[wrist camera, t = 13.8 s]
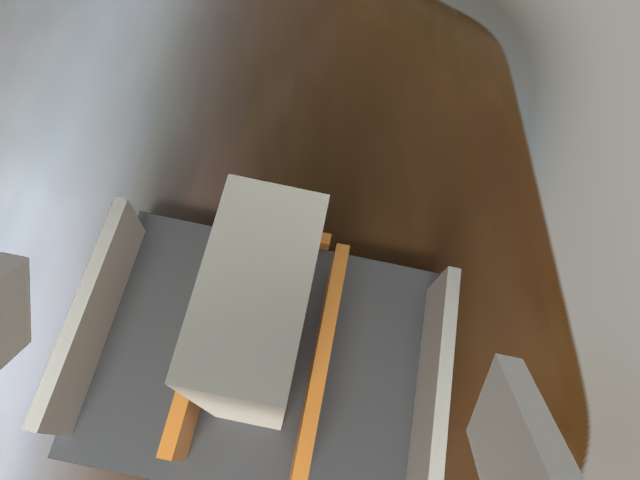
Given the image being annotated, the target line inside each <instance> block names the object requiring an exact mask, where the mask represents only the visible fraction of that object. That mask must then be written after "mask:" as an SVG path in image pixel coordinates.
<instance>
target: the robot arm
mask: <svg viewBox="0 0 640 480" xmlns="http://www.w3.org/2000/svg"><path fill="white" fill-rule="evenodd" d="M30 342H31V312H30V273H29V258H28V257H23V256H18V255H13V254H9V253H4V252H1V253H0V370H1V369H2V368H3V367H4V366H5V365H6V364H7V363H8V362H9V361H10V360H12V359H13V358H14V357H15V356H16V355H17V354H18V353H19V352H20V351H21V350H22V349H24V348H25V347H26V346H27V345H28V344H29V343H30ZM466 432H467V435H468V439H469V443H470V446H471V450H472V454H473V457H474V461H475V464H476V468H477V472H478V475H479V479H480V480H585V479H584V477H583V475H582V473H581V471H580V469H579V467H578V466H577V464H576V462H575V460H574V458H573V456H572V454H571V452H570V450H569V448H568V446H567V444H566V442H565V440H564V438H563V436H562V434H561V432H560V431H559V429H558V427H557V425H556V423H555V421H554V419H553V417H552V415H551V413H550V411H549V409H548V407H547V405H546V403H545V401H544V399H543V397H542V396H541V394H540V392H539V390H538V388H537V386H536V384H535V382H534V380H533V378H532V376H531V374H530V372H529V370H528V368H527V366H526V364H525V363H524V361H523V359H521V358H516V357H511V356H506V355H501V354H496V353H495V356H494V359H493V361H492V364H491V367H490V369H489V372H488V374H487V377H486V380H485V382H484V385H483V387H482V390H481V393H480V395H479V398H478V401H477V403H476V406H475V408H474V411H473V414H472V416H471V419H470V421H469V424H468V427H467V429H466Z"/></svg>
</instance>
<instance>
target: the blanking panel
mask: <svg viewBox="0 0 640 480" xmlns="http://www.w3.org/2000/svg"><path fill="white" fill-rule="evenodd" d="M329 198H330V195H328V194H324V193H319V192H314V191H309V190H304V189H300V188H295V187H290V186H285V185H280V184H276V183H271V182H266V181H261V180H256V179H252V178H247V177H242V176H237V175H232V174H228V177H227V180H226V183H225V187H224V190H223V193H222V197H221V200H220V203H219V206H218V210H217V213H216V216H215V219H214V223H213V226H212V229H211V233H210V236H209V239H208V242H207V246H206V249H205V252H204V256H203V259H202V262H201V265H200V269H199V272H198V275H197V278H196V282H195V285H194V288H193V292H192V295H191V298H190V301H189V305H188V308H187V311H186V315H185V318H184V321H183V324H182V328H181V331H180V334H179V338H178V341H177V344H176V347H175V351H174V354H173V357H172V360H171V364H170V367H169V370H168V374H167V377H166V380H165V383H164V384H166V385H167V386H169V387H170V388H172V389H173V390H175V391H176V392H178V393H179V394H181V395H182V396H184V397H186V398H187V399H189V400H190V401H192V402H193V403H195V404H196V405H198V406H199V407H201V408H202V409H204V410H205V411H207V412H208V413H210V414H212V415H213V416H215V417H218V418H223V419H228V420H232V421H237V422H242V423H247V424H252V425H256V426H261V427H266V428H271V429H276V430H281V427H282V423H283V419H284V415H285V410H286V406H287V401H288V396H289V391H290V387H291V382H292V377H293V372H294V367H295V362H296V358H297V353H298V348H299V343H300V338H301V333H302V329H303V324H304V319H305V314H306V309H307V304H308V300H309V295H310V290H311V285H312V280H313V276H314V271H315V266H316V261H317V256H318V251H319V247H320V242H321V237H322V232H323V227H324V222H325V218H326V213H327V208H328V203H329Z"/></svg>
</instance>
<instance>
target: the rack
mask: <svg viewBox="0 0 640 480" xmlns="http://www.w3.org/2000/svg"><path fill="white" fill-rule="evenodd" d="M211 229H212V226H208V225H204V224H199V223H194V222H189V221H184V220H180V219H175V218H170V217H165V216H160V215H156V214H151V213H146V212H141V211H140V212H139V215H138V216H137V215H136V213H135V211H134V209H133V208H132V206H131V204H130V202H129V201H128V199H124V198H119V197H114V199H113V202H112V204H111V207H110V209H109V212H108V214H107V217H106V219H105V222H104V224H103V227H102V229H101V232H100V234H99V237H98V239H97V242H96V244H95V247H94V249H93V252H92V254H91V257H90V259H89V261H88V264H87V266H86V269H85V271H84V274H83V276H82V279H81V281H80V284H79V286H78V289H77V291H76V294H75V296H74V299H73V301H72V304H71V306H70V309H69V311H68V314H67V316H66V319H65V321H64V324H63V326H62V329H61V331H60V334H59V336H58V339H57V341H56V344H55V346H54V349H53V351H52V354H51V356H50V359H49V361H48V364H47V366H46V369H45V371H44V374H43V376H42V379H41V381H40V383H39V386H38V388H37V391H36V393H35V396H34V398H33V401H32V403H31V406H30V408H29V411H28V413H27V416H26V418H25V421H24V423H23V426H22V428H21V430H25V431H29V432H34V433H42V434H52V435H56V437H55V439H54V442H53V445H52V447H51V450H50V453H49V455H48V458H50V459H55V460H60V461H65V462H70V463H74V464H79V465H84V466H89V467H94V468H98V469H103V470H108V471H113V472H118V473H122V474H127V475H132V476H137V477H142V478H147V479H151V480H444V472H445V460H446V448H447V436H448V423H449V411H450V399H451V387H452V375H453V363H454V351H455V339H456V327H457V315H458V303H459V291H460V279H461V269H460V268H455V267H450V266H448V267H447V268H446V269H445V270H444V271H443V272H442V273H441V274H439V273H434V272H429V271H425V270H420V269H415V268H410V267H405V266H401V265H396V264H391V263H386V262H381V261H377V260H372V259H367V258H362V257H357V256H353V255H349V249H350V245H345V244H340V243H337V245H336V248H335V252H333V251H329V250H328V249H329V245H330V240H331V235H332V234H330V233H325V232H322V237H321V242H320V247H319V251H318V256H317V261H316V266H315V271H314V276H313V280H312V285H311V290H310V295H309V300H308V304H307V309H306V314H305V319H304V324H303V329H302V333H301V338H300V343H299V348H298V353H297V358H296V362H295V367H294V372H293V377H292V382H291V387H290V391H289V396H288V401H287V406H286V410H285V415H284V419H283V423H282V427H281V430H276V429H271V428H266V427H261V426H256V425H252V424H247V423H242V422H237V421H232V420H228V419H223V418H218V417H215V416H213V415H212V414H210V413H208V412H207V411H205V410H204V409H202V408H201V407H199V406H198V405H196V404H195V403H193V402H192V401H190V400H189V399H187V398H186V397H184V396H182V395H181V394H179V393H178V392H176V391H175V390H173V389H172V388H170V387H169V386H167V385H166V384H164V383H165V380H166V377H167V374H168V370H169V367H170V364H171V360H172V357H173V354H174V351H175V347H176V344H177V341H178V338H179V334H180V331H181V328H182V324H183V321H184V318H185V315H186V311H187V308H188V305H189V301H190V298H191V295H192V292H193V288H194V285H195V282H196V278H197V275H198V272H199V269H200V265H201V262H202V259H203V256H204V252H205V249H206V246H207V242H208V239H209V236H210V233H211Z"/></svg>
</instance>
